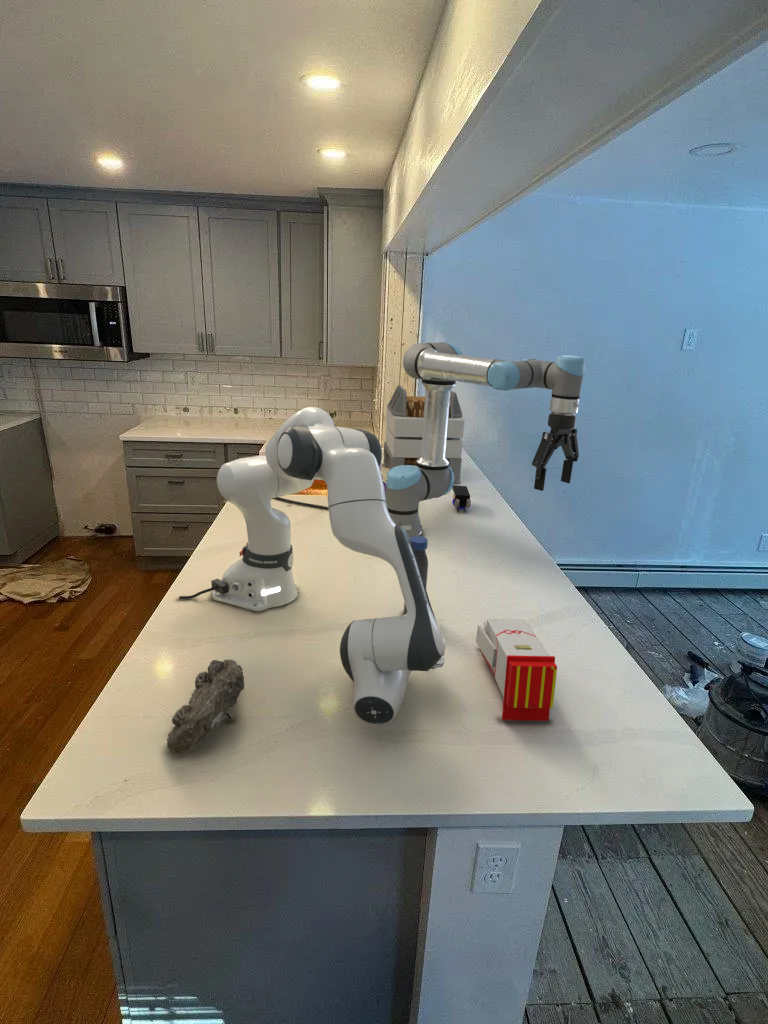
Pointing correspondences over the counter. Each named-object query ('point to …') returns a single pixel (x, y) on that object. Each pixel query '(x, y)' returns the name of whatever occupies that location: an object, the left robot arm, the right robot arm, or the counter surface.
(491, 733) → the counter surface
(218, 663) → the fossil
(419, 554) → the bottle
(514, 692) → the toy
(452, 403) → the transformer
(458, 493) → the figurine character
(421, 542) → the cap
